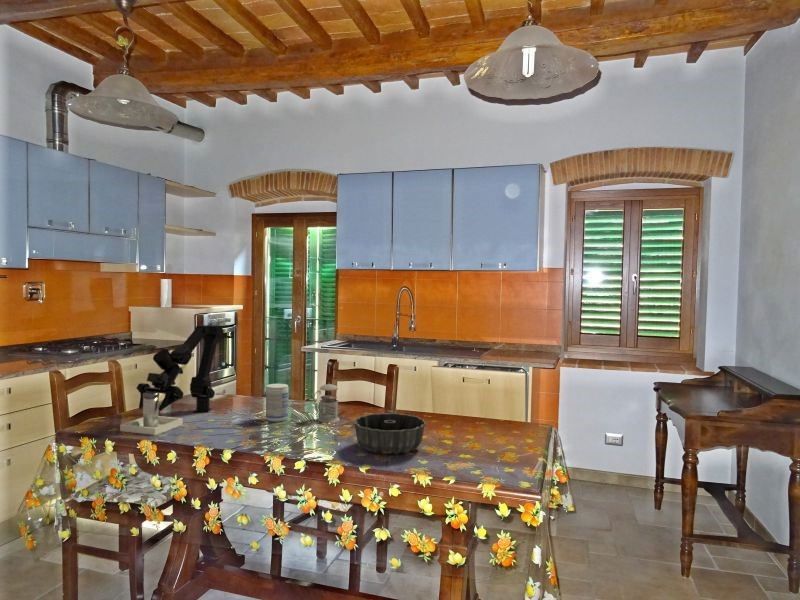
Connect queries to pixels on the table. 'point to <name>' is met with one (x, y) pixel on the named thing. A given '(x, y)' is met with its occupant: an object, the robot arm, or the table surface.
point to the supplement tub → (276, 402)
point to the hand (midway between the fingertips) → (149, 409)
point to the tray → (163, 426)
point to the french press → (328, 415)
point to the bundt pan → (389, 432)
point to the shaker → (150, 409)
